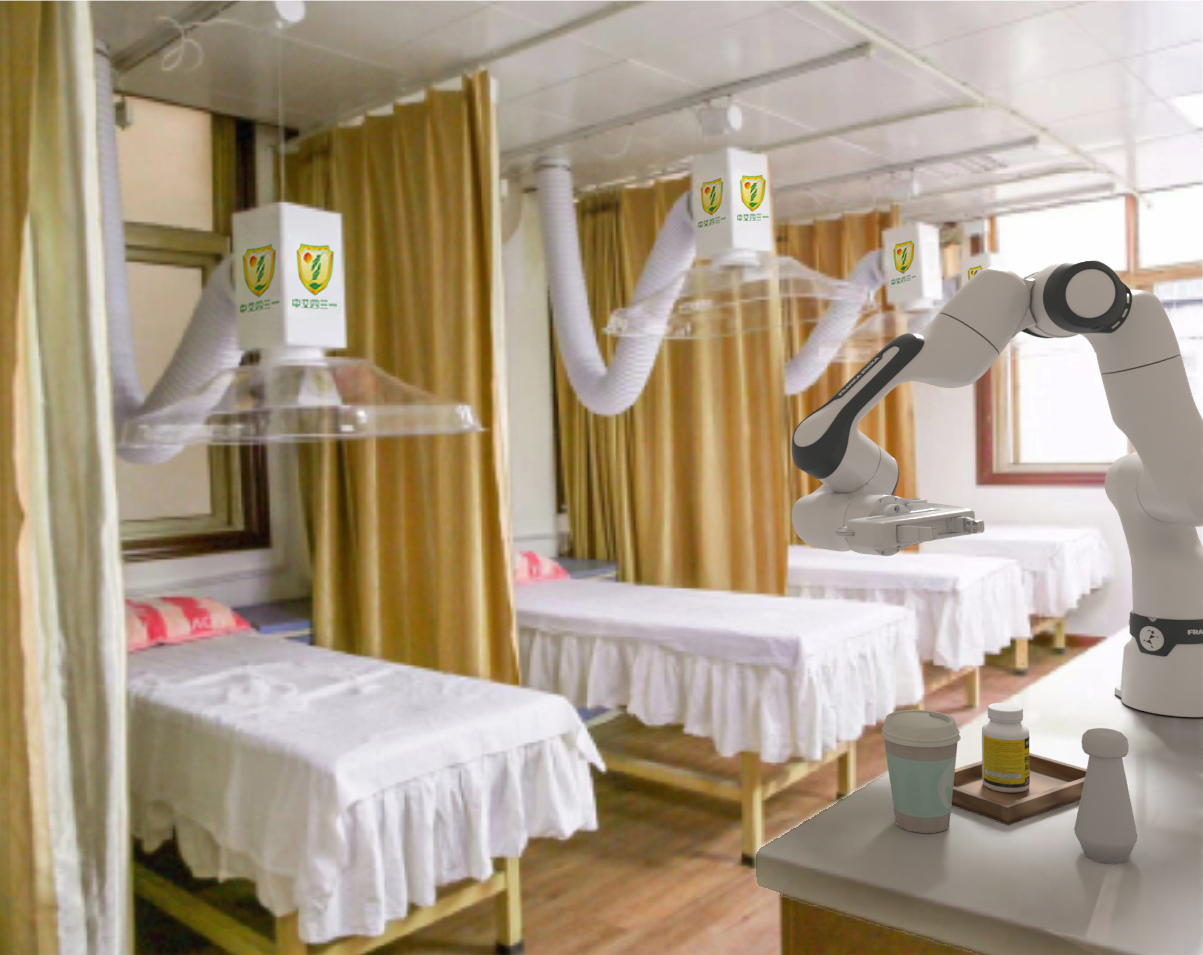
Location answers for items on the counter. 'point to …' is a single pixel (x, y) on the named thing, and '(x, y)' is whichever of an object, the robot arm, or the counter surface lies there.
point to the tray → (1045, 792)
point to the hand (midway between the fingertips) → (957, 530)
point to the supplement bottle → (1005, 749)
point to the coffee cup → (921, 767)
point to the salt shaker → (1105, 799)
